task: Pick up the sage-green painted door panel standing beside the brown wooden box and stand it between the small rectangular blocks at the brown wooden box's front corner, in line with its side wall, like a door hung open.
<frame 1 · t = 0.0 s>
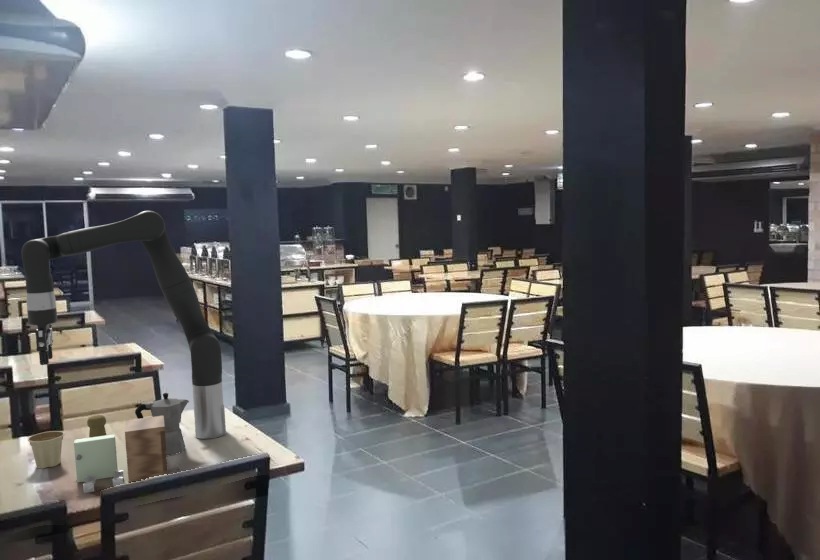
hand: (46, 361, 197), 29 cm above the table, tool pointing down, fingers open, 8 cm apart
flower pot: (48, 465, 194), on the table
small rectangular blocks: (104, 485, 177), on the table
cork: (99, 451, 204), on the table
brown wooden box: (148, 472, 186), on the table
door panel: (97, 477, 183), on the table
coffeepot: (165, 452, 202), on the table
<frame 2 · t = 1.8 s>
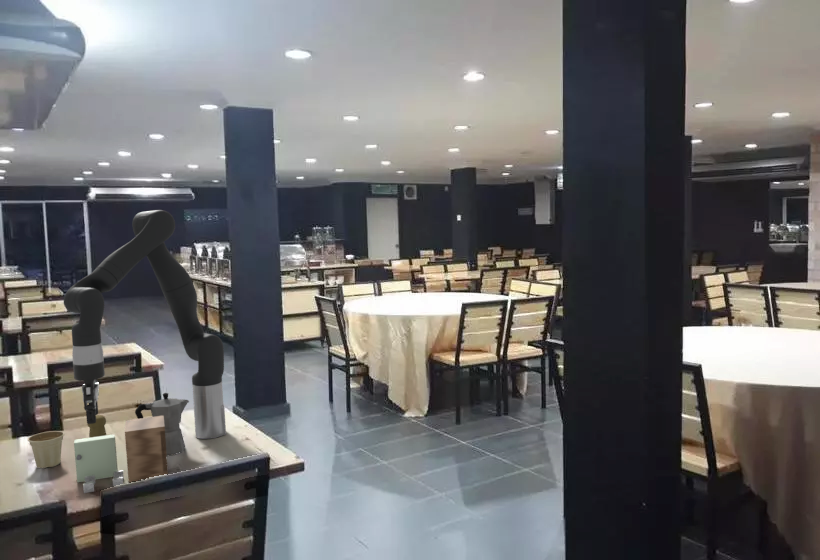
hand: (92, 419, 182), 16 cm above the table, tool pointing down, fingers open, 8 cm apart
nothing on the table moved.
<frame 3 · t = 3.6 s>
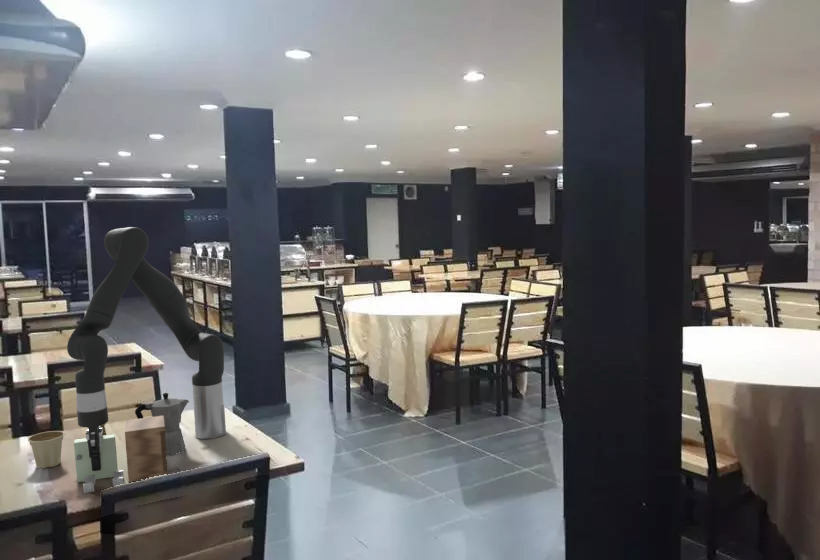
hand: (97, 467, 183), 3 cm above the table, tool pointing down, fingers closed on door panel, 3 cm apart
door panel: (97, 477, 183), on the table, touching gripper
everything else where it was.
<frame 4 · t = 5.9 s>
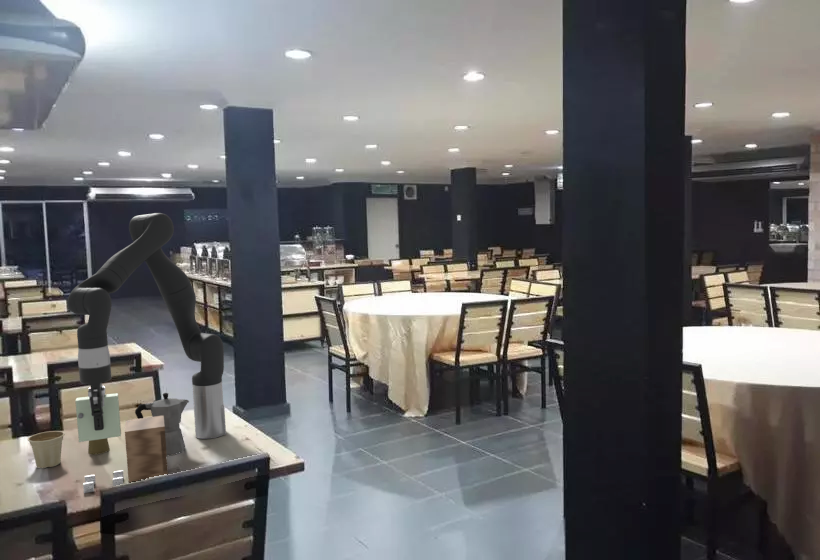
hand: (99, 427, 176), 16 cm above the table, tool pointing down, fingers closed on door panel, 3 cm apart
door panel: (100, 437, 176), point 13 cm above the table, touching gripper
everything else where it was.
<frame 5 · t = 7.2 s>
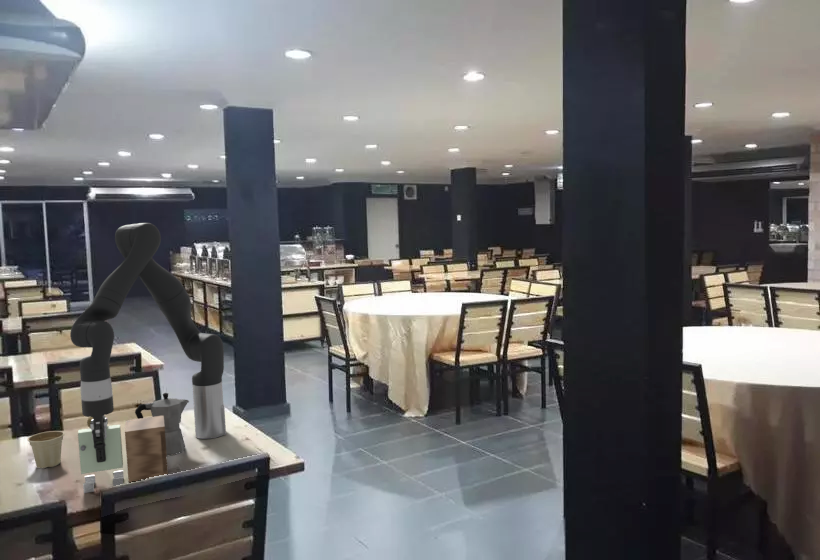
hand: (101, 459, 176), 7 cm above the table, tool pointing down, fingers closed on door panel, 3 cm apart
door panel: (102, 468, 177), point 5 cm above the table, touching gripper
everything else where it was.
when the fingers open (4 cm above the table, at t = 8.2 s): door panel drops 1 cm, on the table.
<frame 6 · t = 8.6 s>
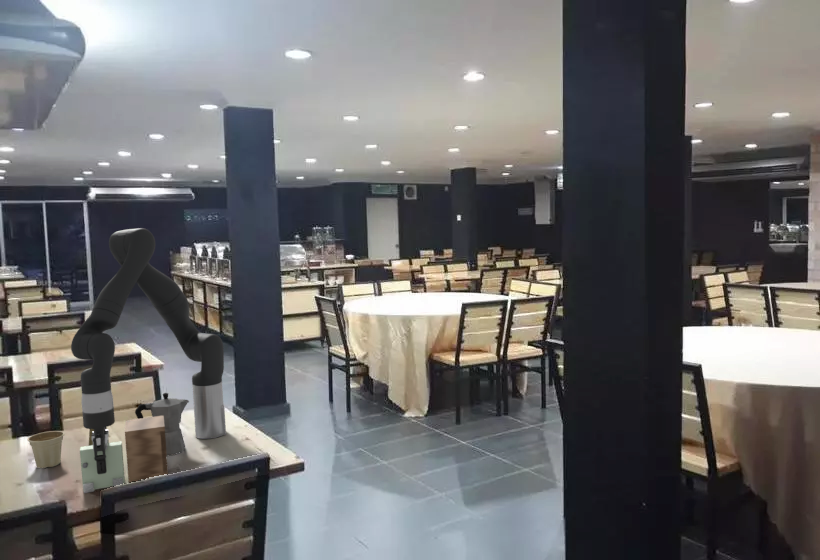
hand: (102, 468, 177), 5 cm above the table, tool pointing down, fingers open, 7 cm apart
door panel: (104, 485, 177), on the table
everything else where it was.
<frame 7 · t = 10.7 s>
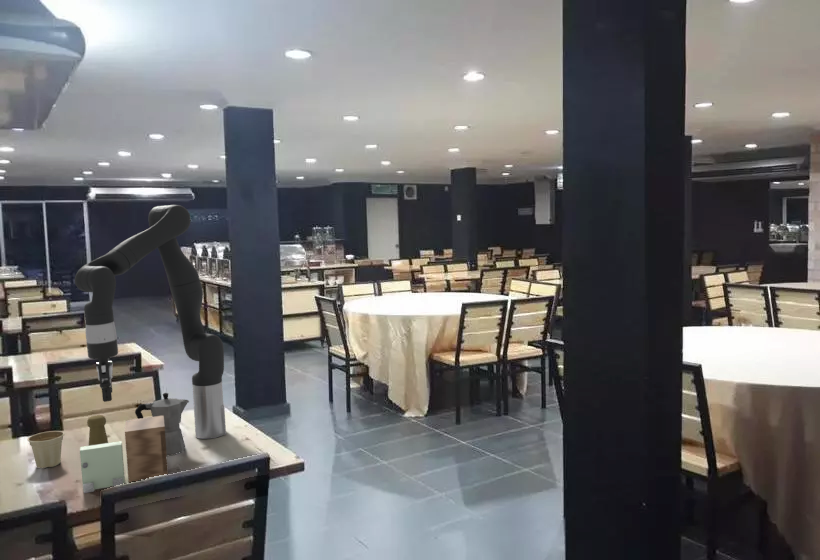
hand: (107, 397, 183), 22 cm above the table, tool pointing down, fingers open, 8 cm apart
nothing on the table moved.
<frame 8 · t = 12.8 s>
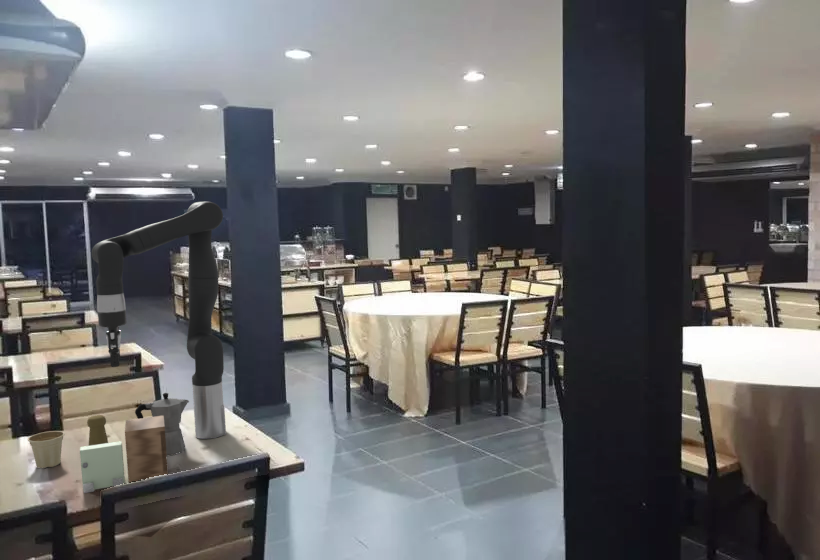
hand: (115, 363, 196), 28 cm above the table, tool pointing down, fingers open, 8 cm apart
nothing on the table moved.
at the end: door panel 0.1 cm off-centre on the small rectangular blocks, point 0.0 cm above the small rectangular blocks's base; door panel tilted 0°; the gripper is holding nothing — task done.
